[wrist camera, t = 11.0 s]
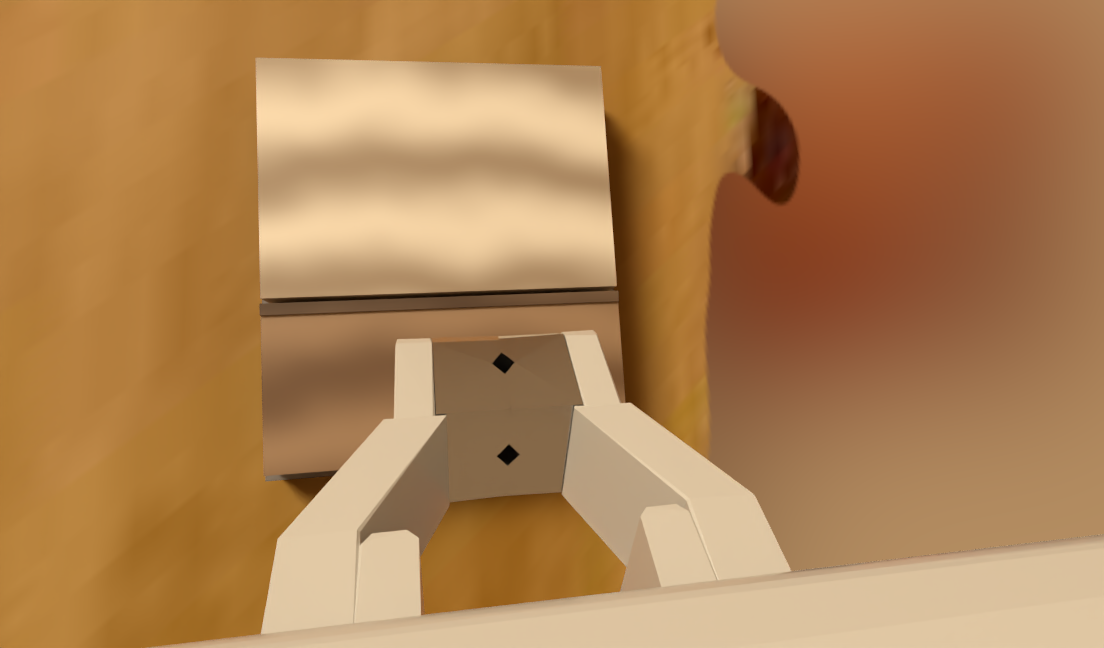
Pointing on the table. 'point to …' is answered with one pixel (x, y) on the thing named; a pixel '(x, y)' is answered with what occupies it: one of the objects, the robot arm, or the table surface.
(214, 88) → the table surface
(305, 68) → the plank
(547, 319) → the grey flat block
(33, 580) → the table surface
